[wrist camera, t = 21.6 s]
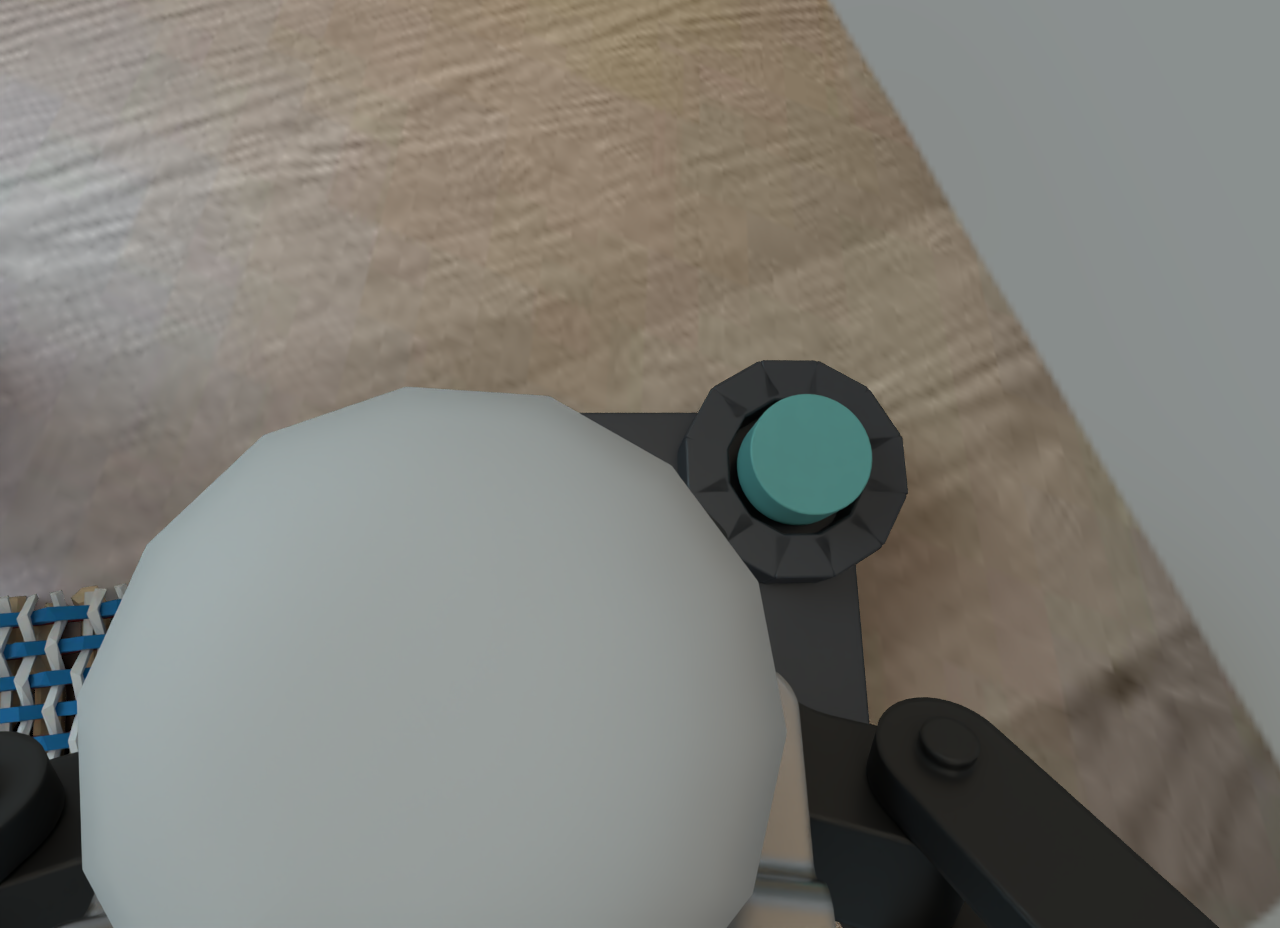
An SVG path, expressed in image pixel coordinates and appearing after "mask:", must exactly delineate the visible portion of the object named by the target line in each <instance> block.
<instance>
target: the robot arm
mask: <svg viewBox="0 0 1280 928" xmlns="http://www.w3.org/2000/svg"><path fill="white" fill-rule="evenodd" d="M705 511H706V510H705ZM706 512H707V511H706ZM707 514H708V515H709V516H710V518H711V519H712V520H713V522H714V523H715V524H716V526H717V527H718V528H719V530H720V531H721V532H722V534H723V535H724V536H725V538H726V539H727V541H728V542H729V540H728V536H727V533H726V531H725V530H724V529H723V528H722V526H721V525H720V524H719V523H718V522H717V521H716V520H715V519H714V518H713V517H712V516H711V515H710V514H709V513H708V512H707ZM775 672H776V671H775ZM776 677H777V682H778V688H779V693H780V698H781V703H782V708H783V714H784V719H785V724H786V729H787V735H786V740H785V745H784V749H783V754H782V759H781V763H780V768H779V773H778V778H777V782H776V787H775V792H774V796H773V801H772V806H771V810H770V815H769V820H768V824H767V829H766V834H765V838H764V843H763V848H762V852H761V857H760V862H759V867H758V871H757V876H756V881H755V885H754V890H753V894H752V895H751V897H750V898H749V899H748V901H747V902H746V903H745V904H744V906H743V907H742V908H741V910H740V911H739V912H738V913H737V915H736V916H735V917H734V919H733V920H732V921H731V923H730V924H729V925H728V926H727V928H836V925H835V921H837V922H840V924H841V926H842V927H843V928H1219V927H1218V926H1217V925H1216V924H1214V923H1213V922H1212V921H1211V920H1210V919H1209V918H1208V917H1207V916H1206V915H1204V914H1203V913H1202V912H1201V911H1200V910H1199V909H1198V908H1197V907H1196V906H1194V905H1193V904H1192V903H1191V902H1190V901H1189V900H1188V899H1187V898H1185V897H1184V896H1183V895H1182V894H1181V893H1180V892H1179V891H1178V890H1177V889H1175V888H1174V887H1173V886H1172V885H1171V884H1170V883H1169V882H1168V881H1167V880H1165V879H1164V878H1163V877H1162V876H1161V875H1160V874H1159V873H1158V872H1156V871H1155V870H1154V869H1153V868H1152V867H1151V866H1150V865H1149V864H1148V863H1146V862H1145V861H1144V860H1143V859H1142V858H1141V857H1140V856H1139V855H1138V854H1136V853H1135V852H1134V851H1133V850H1132V849H1131V848H1130V847H1129V846H1127V845H1126V844H1125V843H1124V842H1123V841H1122V840H1121V839H1120V838H1119V837H1117V836H1116V835H1115V834H1114V833H1113V832H1112V831H1111V830H1110V829H1109V828H1107V827H1106V826H1105V825H1104V824H1103V823H1102V822H1101V821H1100V820H1098V819H1097V818H1096V817H1095V816H1094V815H1093V814H1092V813H1091V812H1090V811H1088V810H1087V809H1086V808H1085V807H1084V806H1083V805H1082V804H1081V803H1080V802H1078V801H1077V800H1076V799H1075V798H1074V797H1073V796H1072V795H1071V794H1069V793H1068V792H1067V791H1066V790H1065V789H1064V788H1063V787H1062V786H1061V785H1059V784H1058V783H1057V782H1056V781H1055V780H1054V779H1053V778H1052V777H1051V776H1049V775H1048V774H1047V773H1046V772H1045V771H1044V770H1043V769H1042V768H1040V767H1039V766H1038V765H1037V764H1036V763H1035V762H1034V761H1033V760H1032V759H1030V758H1029V757H1028V756H1027V755H1026V754H1025V753H1024V752H1023V751H1022V750H1020V749H1019V748H1018V747H1017V746H1016V745H1015V744H1014V743H1013V742H1011V741H1010V740H1009V739H1008V738H1007V737H1006V736H1005V735H1004V734H1003V733H1001V732H1000V731H999V730H998V729H997V728H996V727H995V726H994V725H992V724H991V723H990V722H989V721H987V720H986V719H985V718H983V717H982V716H980V715H979V714H977V713H975V712H974V711H972V710H970V709H968V708H966V707H964V706H962V705H959V704H956V703H953V702H950V701H946V700H942V699H937V698H928V697H923V698H911V699H906V700H903V701H900V702H897V703H896V704H894V705H892V706H891V707H889V708H888V709H887V710H886V711H885V712H884V713H883V715H882V716H881V718H880V719H879V722H878V725H877V726H875V725H871V724H867V723H863V722H858V721H854V720H850V719H845V718H841V717H837V716H833V715H829V714H825V713H822V712H819V711H816V710H814V709H811V708H809V707H807V706H805V705H803V704H801V703H799V702H798V700H797V698H796V695H795V693H794V691H793V689H792V688H791V686H790V685H789V683H788V682H787V681H786V680H785V679H784V678H783V677H782V676H781V675H780V674H779V673H777V672H776ZM0 928H113V926H112V924H111V922H110V921H109V919H108V917H107V915H106V913H105V911H104V909H103V907H102V905H101V904H100V902H99V900H98V898H97V896H96V894H95V892H94V890H93V889H92V887H91V885H90V883H89V881H88V879H87V877H86V875H85V874H84V872H83V870H82V843H81V812H80V780H79V752H75V753H71V754H68V755H64V756H60V757H57V758H53V759H49V758H48V756H47V754H46V752H45V750H44V748H43V746H42V745H41V744H40V743H39V742H38V741H37V740H36V739H34V738H32V737H31V736H29V735H26V734H22V733H19V732H10V731H0Z"/></svg>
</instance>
